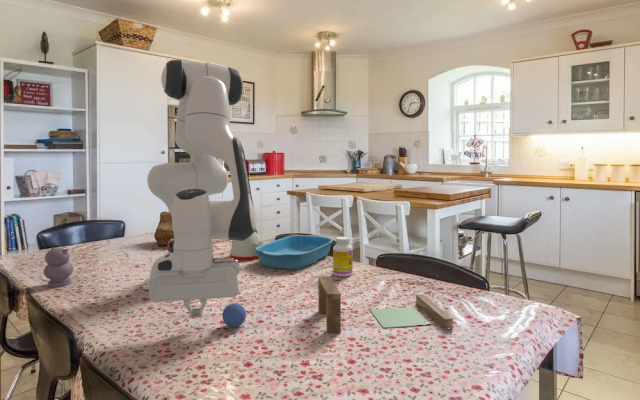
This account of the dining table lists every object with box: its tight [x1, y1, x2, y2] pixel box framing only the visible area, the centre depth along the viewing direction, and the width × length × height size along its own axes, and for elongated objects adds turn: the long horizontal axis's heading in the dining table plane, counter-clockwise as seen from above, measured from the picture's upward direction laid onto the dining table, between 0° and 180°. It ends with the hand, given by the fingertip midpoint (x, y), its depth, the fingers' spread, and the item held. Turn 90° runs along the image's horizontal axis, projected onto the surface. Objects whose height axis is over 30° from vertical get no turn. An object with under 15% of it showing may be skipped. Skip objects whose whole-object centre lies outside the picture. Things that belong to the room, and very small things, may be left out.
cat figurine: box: [43, 247, 74, 289], centre depth 137 cm, size 8×8×12 cm
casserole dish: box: [256, 234, 334, 270], centre depth 168 cm, size 37×22×7 cm, turn 154°
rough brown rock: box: [153, 211, 174, 246], centre depth 199 cm, size 23×17×15 cm
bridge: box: [317, 275, 342, 334], centre depth 105 cm, size 3×15×9 cm, turn 9°
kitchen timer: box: [229, 231, 264, 261], centre depth 174 cm, size 14×14×15 cm
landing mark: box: [369, 306, 431, 329], centre depth 108 cm, size 12×12×1 cm
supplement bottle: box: [332, 236, 353, 278], centre depth 147 cm, size 7×7×13 cm
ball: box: [221, 302, 247, 328], centre depth 102 cm, size 6×6×6 cm
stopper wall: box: [415, 293, 454, 329], centre depth 109 cm, size 2×18×2 cm, turn 9°
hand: (196, 316), depth 101 cm, fingers closed
